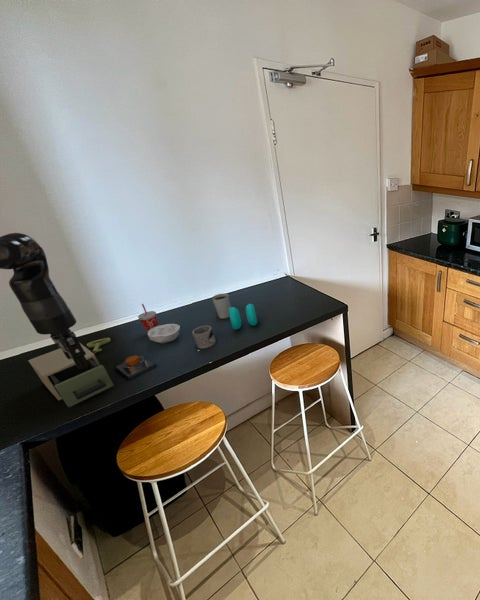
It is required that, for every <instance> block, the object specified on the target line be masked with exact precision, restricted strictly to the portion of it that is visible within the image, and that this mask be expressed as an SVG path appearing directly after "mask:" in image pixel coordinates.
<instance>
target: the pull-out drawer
mask: <svg viewBox="0 0 480 600" xmlns="http://www.w3.org/2000/svg"><path fill="white" fill-rule="evenodd" d="M87 361H88V363H89V366H88V367H85V368H83V369H79V368H78V367H77V366H76V365H73V366H71V367H69V368H66V369H64V370H61V371H59V372H57V373H54V374H52V375H49V376H48V377H49V378H50V380H51V381H52V383H53V384H54V386H55V388H56V389H57V391H58V392H59V394H60V395H61V397H62V399H61V400H63V402H64V403H65V405H66V406H67V408H71V407H74V406H75V405H77V404H79V403H81V402H83V401H85V400H87V399H89V398H92V397H93V396H95V395H98V394H99V393H102V392H104V391H106V390H109V389H110V388H112V387H114V386H115V384H114V382H113V381H112V379H111V378H110V376H109V374H108V372H107V370H106V368H105V366H104V365H103V364H100V366H98V365H97V364H96V363H95V362H94V361H92V360H91V359H88V360H87Z"/></svg>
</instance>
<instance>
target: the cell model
mask: <svg viewBox="0 0 480 600" xmlns="http://www.w3.org/2000/svg"><path fill="white" fill-rule="evenodd" d="M180 327H181V326H180V324H176V323H166V324H161V325H160V324H159V326H157V327H154V328H152V329H151V330H149V331H148V333H147V336H148V339H149V340H150V341H152V342H154V343H155V342H156V343H158V344H166V343H170V342H173V341H175V340H176V339H178V336H179V334H180Z"/></svg>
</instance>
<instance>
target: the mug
mask: <svg viewBox="0 0 480 600" xmlns="http://www.w3.org/2000/svg"><path fill="white" fill-rule="evenodd" d="M191 333H192V336H193V339H194V341H195V344H196V347H197V348H198V349H201V350H202V349H208V348H211V347H213V346H214V345H215V344H216V343H217V341H216V338H215V334H214V332H213V329H212V326H210V325H205V324H203V325H201V326H198V327H195V328H194V329H193V330H192V332H191Z"/></svg>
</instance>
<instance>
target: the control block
mask: <svg viewBox="0 0 480 600" xmlns="http://www.w3.org/2000/svg"><path fill="white" fill-rule="evenodd" d="M137 356H138V358H139V360H140V361H139V362H138V363H136V364H134V365H130V366H129V365H127V363H126V361H123V362H122V363H121V364H119V365H117V366H115V369H116V370H117V371H118V372H119V373H121V374H122V375H123V376H124V377H126V378H127V379H128V380H131V379H134V378H136V377H137V376H140V375H142V374H144V373H146V372H148V371H150V370H152V369H154V368H156V365H155V363H153V362H152V361H151V360H149V359H147V358H146V357H145V356H143V355H137Z"/></svg>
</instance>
